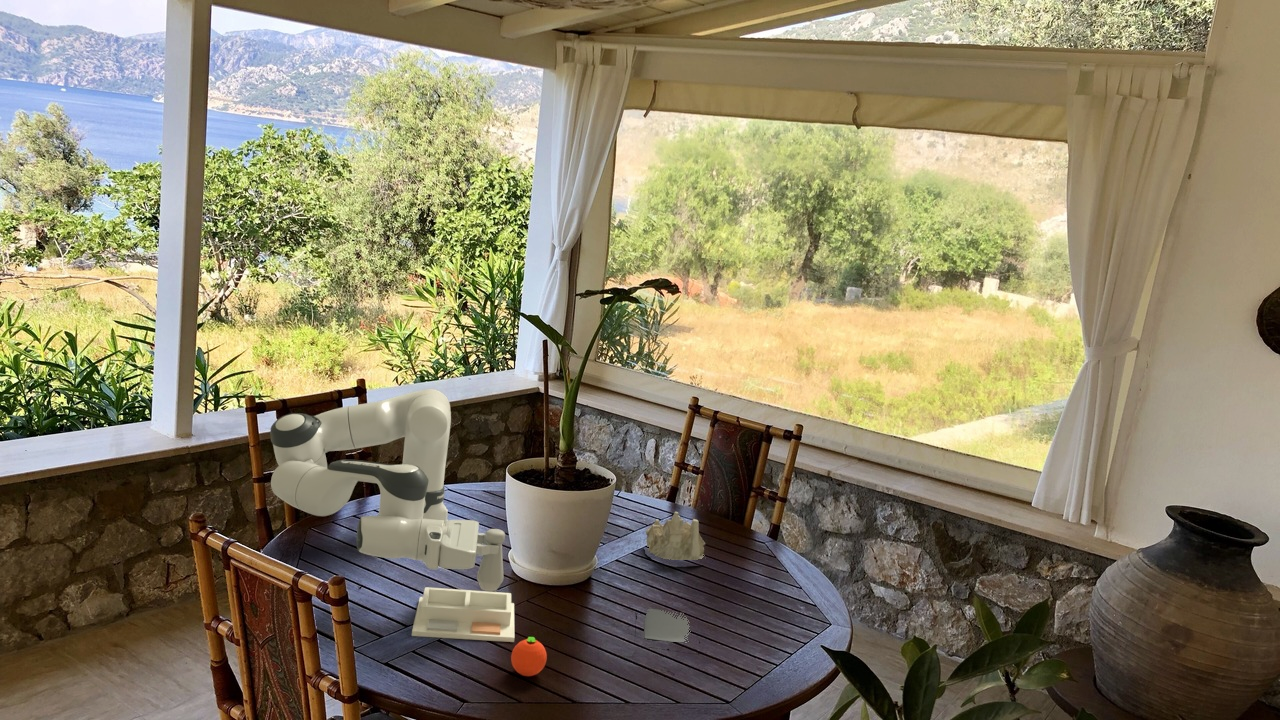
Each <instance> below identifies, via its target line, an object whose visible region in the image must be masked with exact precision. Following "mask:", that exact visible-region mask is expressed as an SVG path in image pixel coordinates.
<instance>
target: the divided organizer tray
mask: <svg viewBox="0 0 1280 720" xmlns="http://www.w3.org/2000/svg"><path fill="white" fill-rule="evenodd" d="M418 599H419V600H418V604H417V608H416V612H415V617H414V621H413V625H412V630H411V637H423V638H424V637H425V638H443V639H456V640H457V639H458V640H459V639H460V640H473V641H474V640H475V641H489V642H490V641H491V642H505V643H506V642H508V643H509V642H510V643H515V603H514V602H512V593H511V592H500V591H499V592H497V591H485V590H473V589H472V590H471V589H457V588H456V589H455V588H443V587H442V588H441V587H428V586H427V587H424V591H423V595H422V596H419V598H418Z"/></svg>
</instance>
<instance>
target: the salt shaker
mask: <svg viewBox="0 0 1280 720" xmlns="http://www.w3.org/2000/svg"><path fill="white" fill-rule="evenodd" d="M484 534H485V540H486V541H487V544H485V545H491V543H492V544H498V545H499V549H498V553H497V554H487V555H482V558H481V561H480V565H479V568H478V570H477V573H476V580H477V583H478V584H479V587H480V590H481V591H487V592H497V590H498V589H499V588H500V586H501V584H502V583H503V581H504V562H503V544H502V543H504V542H505V540H506V539H505V538H506V533H505V531H504V530H501V529H498V528H490V529H488V530H486V531H485V533H484Z"/></svg>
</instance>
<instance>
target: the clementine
mask: <svg viewBox="0 0 1280 720" xmlns="http://www.w3.org/2000/svg"><path fill="white" fill-rule="evenodd" d="M547 656H548V653H547V651H546V648H545V647H544V645H543V644H542V643H541V642H540V641H538V640H537V639H536V638H535V637H534V636H528V637H527V638H526V639H523V640H521V641H519V642H518V643H517V644H516V645H515V646H514V648H513V649H512V652H511V656H510V659H511V660H510V661H511V665H512V667H513V669H514V670H515V672H517V673H518V674H519V675H521V676H524V677H533V676H536V675H538V674H539V673H540V672H541V671H542V670H543V669H544V668H545V666H546V663H547V660H548V659H547V658H548V657H547Z"/></svg>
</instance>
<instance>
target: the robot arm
mask: <svg viewBox="0 0 1280 720" xmlns="http://www.w3.org/2000/svg"><path fill="white" fill-rule="evenodd" d="M451 424H452V412H451V403H450V401H449V399H448V397H447V396H446V395H445V394H444V393H443V392H442V391H440V390H438V389H435V388H425V389H422V390H417V391H413V392H408V393H404V394H401V395H397V396H394V397H390V398H387V399H383V400H378V401H373V402H366V403H361V404H355V405H349V406H342V407H337V408H334V409H331V410H328V411H324V412H321V413H318V414H316V415H309V414H307V413H301V412H299V413H298V412H293V413H292V412H291V413H287V414H285V415H284V414H283V415H282V416H280V417H279V418H278V419H276V420H275V421H274V423H273V424H272V425H271V427H270V431H269V432H270V433H269V434H270V435H269V436H270V441H271V444H272V446H273V447H272V448H273V452H274V455H275V456H274V457H275V459H276V460H275V461H276V463H277V465H278V466H277V467H276V468H275V470H274V471H273V473H272V476H271V480H270V486H271V490H272V492H273V494H274V495H275V496H276V497H278V498H279V499H280V500H281V501H283V502H285V503H286V504H288V505H289V506H291V507H293V508H295V509H298V510H300V511H303V512H305V513H307V514H309V515H313V516H316V517H327V516H330V515H331V516H332V515H333V514H335V513H337V512H339V511H340V510H341V509H342V508H343V507H344V506H345V505H346V504H347V503H348V502H349V500H350V498H351V496H352V494H353V491H354V489H355V486H356V485H357V483H358V482H364V483H371V484H377V485H378V488H379V492H380V495H379V497H380V498H379V506H378V507H379V508H378V509H379V510H378V515H369V516H367V515H366V516H361V517H360V519H359V520H358V523H357V527H356V528H357V529H356V542H355V543H356V548H357V550H358V552H359V553H361V554H364V555H368V556H373V557H379V558H385V559H397V560H398V559H401V558H402V559H403V558H407V559H411V560H414V561H421V562H422V563H424V564H425V566H426V568H427V569H429V570H438V569H439V567H440V568H442V569H446V570H447V569H448V570H449V569H450V570H469V569H472V568H475V564H476V556H479V557H480V556H482V557H483V555H487V554H497V553H498V549H499V545H498V544H492V543H491V545H486V544H487V541H486V540H485V534H486V533H484V532H479V529H480V528H479V527H480V522H479V521H476V520H471V519H448V514H449V513H448V511H449V510H448V508H447V506H446V505H445V504H444V500H445V495H446V493H445V492H446V491H445V486H444V483H445V482H444V481H445V474H446V466H447V465H446V464H447V456H448V448H449V440H450V432H451ZM402 438H404V442H403V454H402V455H403V456H402V463H400V464H398V463H397V464H396V463H383V462H377V461H376V462H375V461H368V460H361V459H340V460H336V461H332V462H330V464H328V462H327V457H326V453H328V452H335V451H336V452H337V451H339V452H341V451H347V450H348V451H349V450H355V449H361V448H367V447H374V446H379V445H385V444H388V443H391V442H393V441H396V440H399V439H402Z"/></svg>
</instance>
